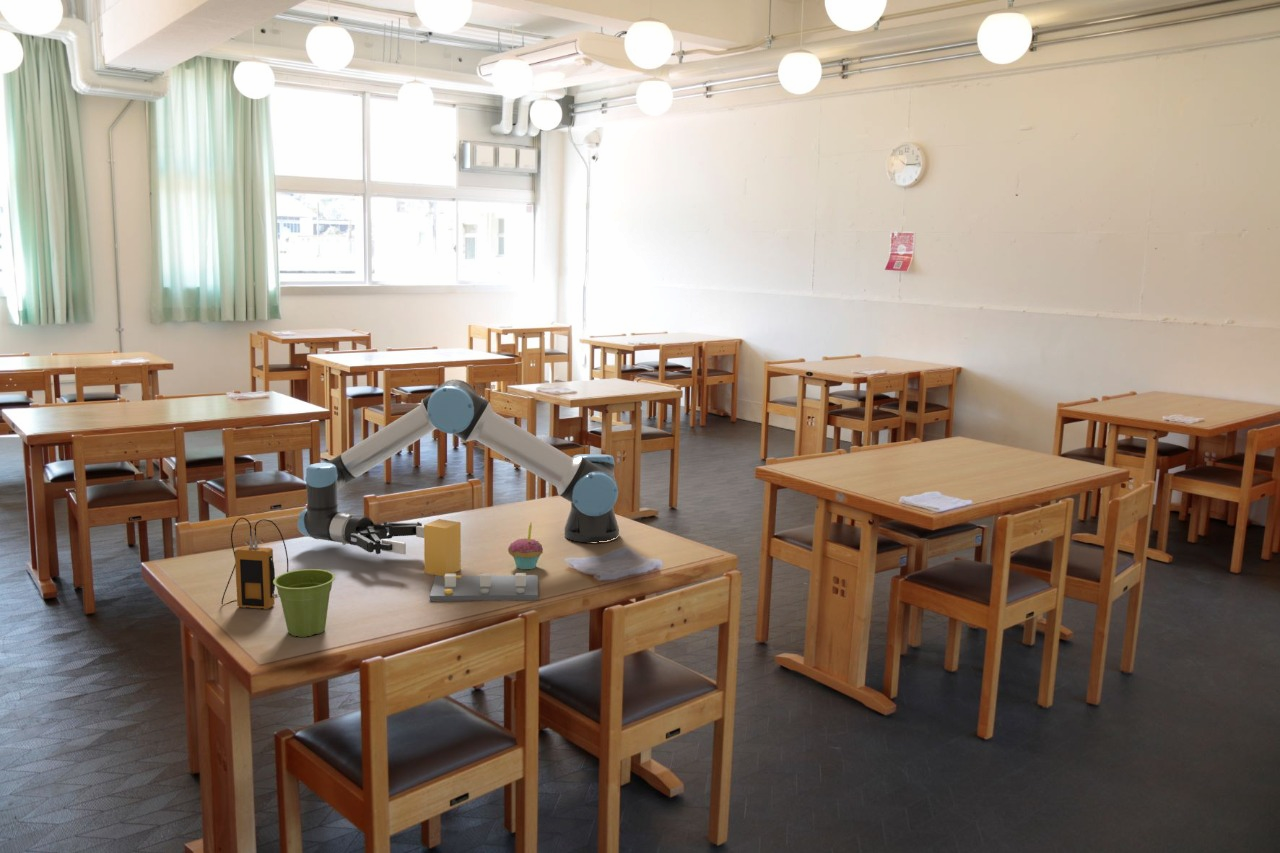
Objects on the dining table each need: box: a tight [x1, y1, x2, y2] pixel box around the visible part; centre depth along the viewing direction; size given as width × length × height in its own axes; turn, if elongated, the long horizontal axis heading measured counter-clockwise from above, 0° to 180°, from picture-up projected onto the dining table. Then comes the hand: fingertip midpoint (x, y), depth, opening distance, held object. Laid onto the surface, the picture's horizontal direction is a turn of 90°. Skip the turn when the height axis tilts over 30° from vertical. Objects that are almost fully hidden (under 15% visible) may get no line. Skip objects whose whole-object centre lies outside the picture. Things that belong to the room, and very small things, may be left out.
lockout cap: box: [423, 518, 462, 576], centre depth 240 cm, size 6×6×12 cm
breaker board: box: [429, 572, 539, 602], centre depth 229 cm, size 24×14×4 cm, turn 96°
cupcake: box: [507, 521, 544, 570], centre depth 245 cm, size 9×8×12 cm
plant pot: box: [273, 568, 336, 638], centre depth 201 cm, size 12×12×11 cm
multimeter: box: [220, 517, 289, 610], centre depth 216 cm, size 15×10×20 cm
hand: (422, 541), depth 242 cm, fingers open, 13 cm apart
